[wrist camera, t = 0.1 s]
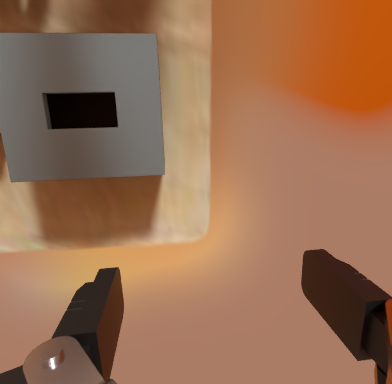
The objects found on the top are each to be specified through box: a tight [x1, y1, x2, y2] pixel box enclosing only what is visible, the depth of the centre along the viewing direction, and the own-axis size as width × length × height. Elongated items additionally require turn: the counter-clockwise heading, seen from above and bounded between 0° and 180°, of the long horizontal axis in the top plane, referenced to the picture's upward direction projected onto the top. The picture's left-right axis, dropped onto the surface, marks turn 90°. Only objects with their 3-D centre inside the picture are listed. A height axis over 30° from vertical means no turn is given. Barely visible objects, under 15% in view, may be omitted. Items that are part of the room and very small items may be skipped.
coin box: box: [0, 33, 165, 182], centre depth 32 cm, size 14×16×10 cm
